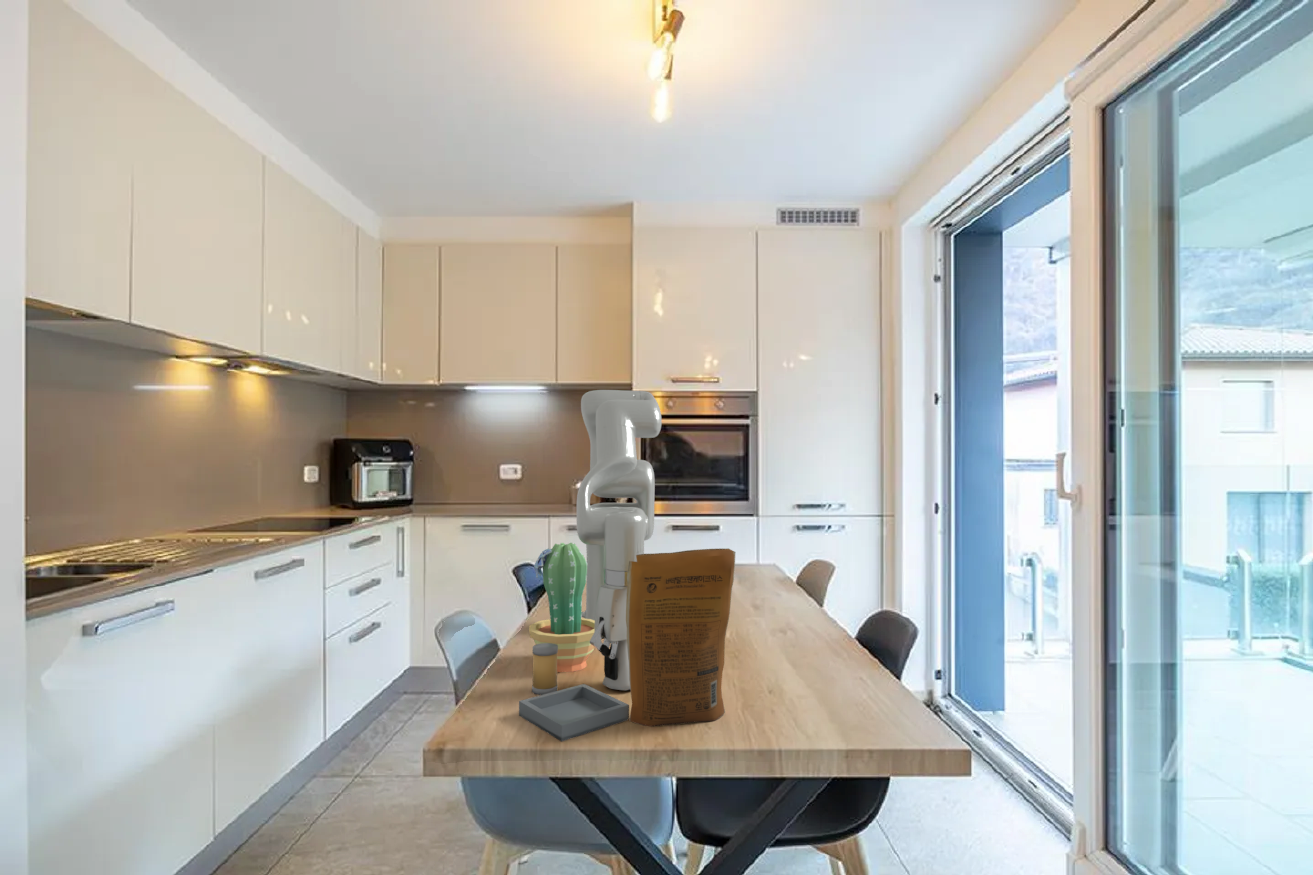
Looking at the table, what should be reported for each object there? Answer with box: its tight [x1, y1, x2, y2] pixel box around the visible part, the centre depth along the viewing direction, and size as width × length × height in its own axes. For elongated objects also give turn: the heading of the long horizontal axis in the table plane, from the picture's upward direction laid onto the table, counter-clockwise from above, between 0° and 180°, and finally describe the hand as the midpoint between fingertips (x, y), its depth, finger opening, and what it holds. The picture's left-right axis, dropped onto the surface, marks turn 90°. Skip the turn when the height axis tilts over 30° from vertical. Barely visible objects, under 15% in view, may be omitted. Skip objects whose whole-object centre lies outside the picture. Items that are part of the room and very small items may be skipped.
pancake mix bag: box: [626, 548, 736, 727], centre depth 108 cm, size 7×19×28 cm, turn 104°
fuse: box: [531, 643, 558, 696], centre depth 121 cm, size 5×5×8 cm
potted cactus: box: [528, 542, 595, 673], centre depth 136 cm, size 15×15×25 cm
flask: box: [602, 640, 630, 691], centre depth 123 cm, size 7×7×10 cm
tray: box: [518, 683, 630, 743], centre depth 108 cm, size 13×13×2 cm
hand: (622, 673), depth 123 cm, fingers closed on flask, 4 cm apart
